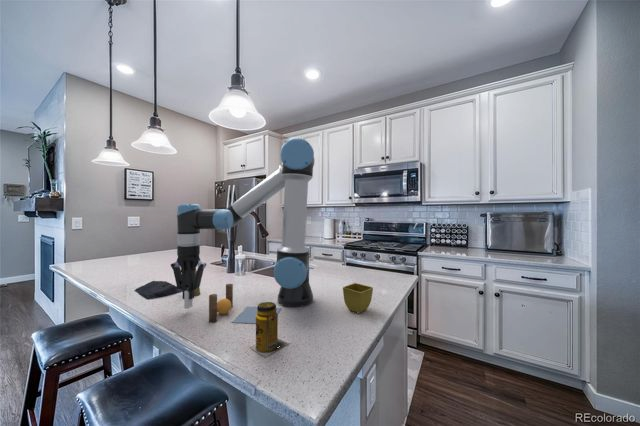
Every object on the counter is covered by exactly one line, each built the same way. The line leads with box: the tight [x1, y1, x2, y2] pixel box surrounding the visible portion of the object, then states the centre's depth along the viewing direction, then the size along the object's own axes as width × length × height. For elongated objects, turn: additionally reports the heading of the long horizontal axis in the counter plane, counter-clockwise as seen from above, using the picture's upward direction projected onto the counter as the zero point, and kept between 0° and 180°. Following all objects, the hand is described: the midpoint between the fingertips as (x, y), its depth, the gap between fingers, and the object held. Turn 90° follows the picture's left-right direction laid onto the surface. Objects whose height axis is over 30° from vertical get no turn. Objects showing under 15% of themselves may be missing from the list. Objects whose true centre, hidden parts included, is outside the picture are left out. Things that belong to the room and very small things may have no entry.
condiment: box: [249, 301, 290, 358], centre depth 70 cm, size 7×8×12 cm
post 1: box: [208, 293, 218, 324], centre depth 85 cm, size 3×3×9 cm
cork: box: [194, 269, 201, 298], centre depth 112 cm, size 6×6×11 cm
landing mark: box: [231, 306, 282, 325], centre depth 90 cm, size 14×14×1 cm
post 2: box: [225, 283, 234, 309], centre depth 98 cm, size 3×3×9 cm
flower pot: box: [342, 282, 374, 314], centre depth 96 cm, size 9×9×9 cm
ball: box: [217, 298, 232, 315], centre depth 91 cm, size 6×6×6 cm
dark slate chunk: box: [133, 280, 183, 300], centre depth 117 cm, size 15×22×5 cm
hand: (188, 307), depth 93 cm, fingers closed
